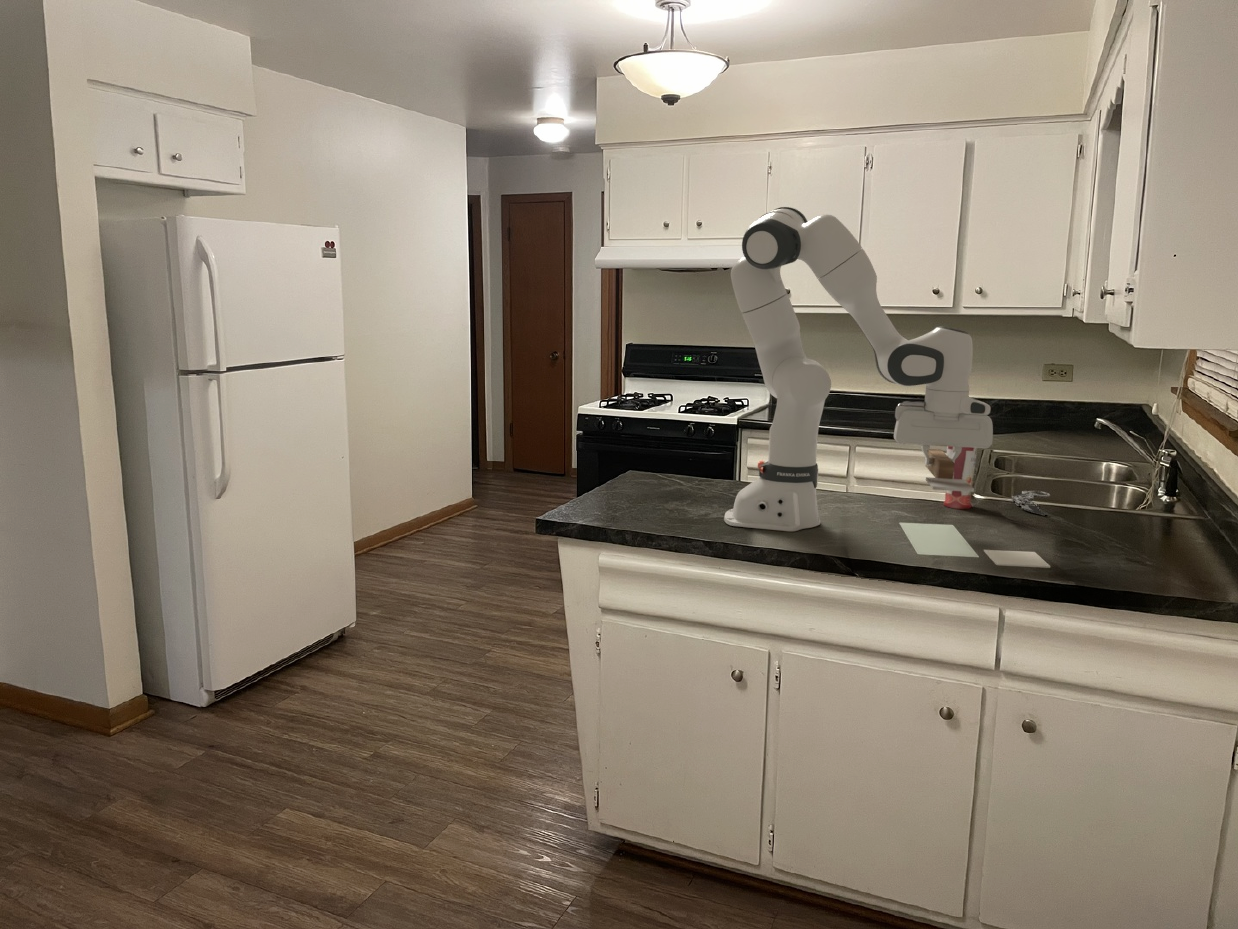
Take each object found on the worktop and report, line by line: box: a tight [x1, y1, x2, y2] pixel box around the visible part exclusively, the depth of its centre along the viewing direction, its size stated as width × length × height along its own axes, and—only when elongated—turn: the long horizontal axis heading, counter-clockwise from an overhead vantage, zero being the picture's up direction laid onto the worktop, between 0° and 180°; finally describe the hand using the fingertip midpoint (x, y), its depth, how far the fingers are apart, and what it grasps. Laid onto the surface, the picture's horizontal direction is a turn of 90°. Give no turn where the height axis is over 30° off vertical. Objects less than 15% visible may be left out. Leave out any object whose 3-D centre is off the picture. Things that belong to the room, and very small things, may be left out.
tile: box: [983, 549, 1051, 569], centre depth 180 cm, size 10×2×10 cm
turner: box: [924, 448, 975, 493], centre depth 192 cm, size 22×8×4 cm, turn 172°
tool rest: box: [898, 522, 980, 558], centre depth 194 cm, size 12×26×1 cm, turn 171°
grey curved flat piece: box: [1011, 490, 1051, 516], centre depth 232 cm, size 28×2×10 cm
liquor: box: [942, 446, 978, 510], centre depth 222 cm, size 7×7×28 cm
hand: (939, 465), depth 195 cm, fingers closed on turner, 3 cm apart
